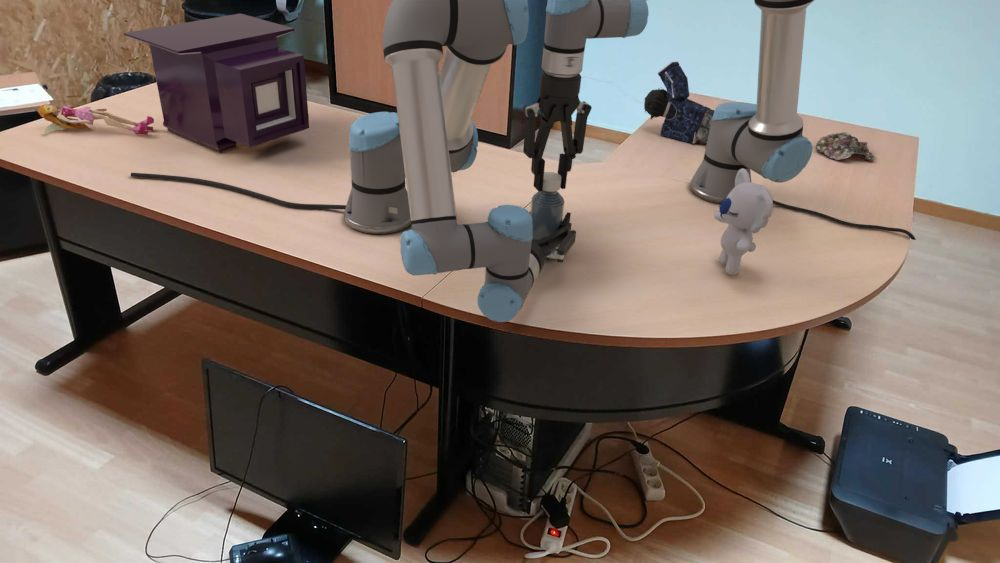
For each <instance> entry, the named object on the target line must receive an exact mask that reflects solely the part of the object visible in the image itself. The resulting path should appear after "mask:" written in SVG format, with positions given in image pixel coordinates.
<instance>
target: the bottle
mask: <svg viewBox="0 0 1000 563" xmlns="http://www.w3.org/2000/svg"><path fill="white" fill-rule="evenodd" d="M564 209H565V199H564V197H563V196H562V195H561V193H560V192H559V191H554V192H549V191H544V190H542V191H538V190H537V192H536V193H534V194H533V195H532V197H531V203H530V210H531V212H530V211H529V212H530V214H531V216H532V224H533V232H532V236H533V238H532V239H535V240H540V239H542V238H543V237H548V236H550V235H552V234H553V233H555V232H556V231H558V230H560V224H561V223H562V221H563V219H564ZM559 245H560V244H559ZM559 245H558V246H556V247H559ZM556 247H555V248H553V249H551V250H550V251H551V252H553V251H554V250H556ZM552 260H555V259H554V258H550V260H549V261H552Z"/></svg>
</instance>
